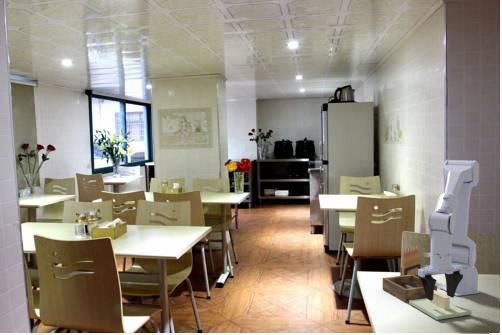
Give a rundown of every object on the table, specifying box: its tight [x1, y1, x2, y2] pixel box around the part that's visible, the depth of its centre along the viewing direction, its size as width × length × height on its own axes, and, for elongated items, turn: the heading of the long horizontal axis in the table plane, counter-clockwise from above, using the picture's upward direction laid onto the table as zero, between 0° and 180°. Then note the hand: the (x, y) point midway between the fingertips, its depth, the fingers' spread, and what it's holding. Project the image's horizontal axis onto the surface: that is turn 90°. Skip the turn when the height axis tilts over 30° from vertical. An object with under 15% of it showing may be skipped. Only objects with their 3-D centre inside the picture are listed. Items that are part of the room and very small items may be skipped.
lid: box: [408, 290, 473, 321], centre depth 122 cm, size 12×12×5 cm
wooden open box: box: [382, 275, 438, 303], centre depth 136 cm, size 12×12×4 cm
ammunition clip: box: [399, 244, 421, 277], centre depth 150 cm, size 11×2×12 cm, turn 128°
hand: (439, 297), depth 122 cm, fingers open, 7 cm apart
